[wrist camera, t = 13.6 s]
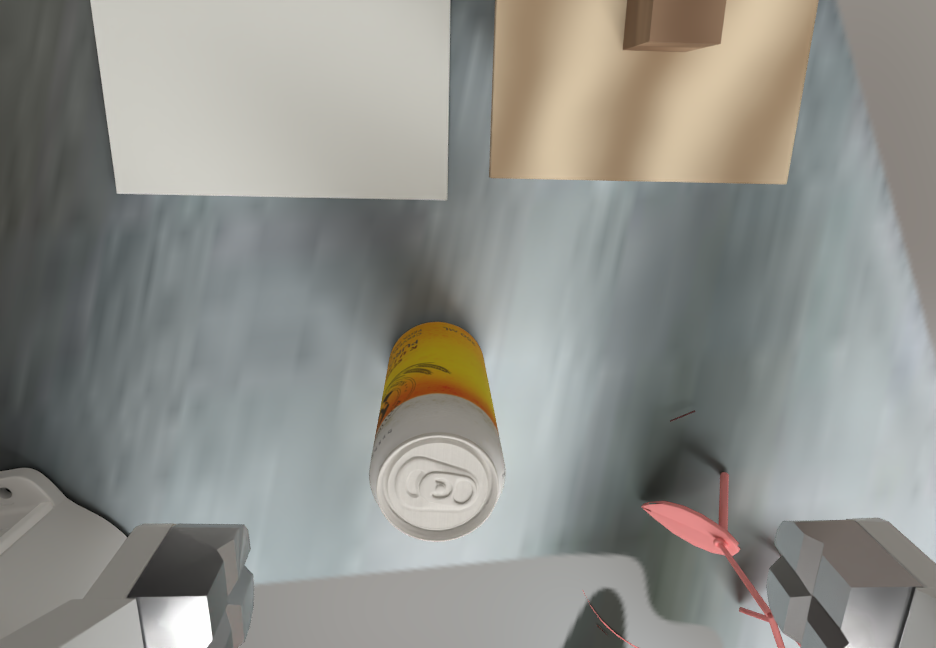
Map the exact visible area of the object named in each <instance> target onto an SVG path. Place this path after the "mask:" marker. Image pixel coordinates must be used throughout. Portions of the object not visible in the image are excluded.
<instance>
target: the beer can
mask: <svg viewBox="0 0 936 648" xmlns="http://www.w3.org/2000/svg"><path fill="white" fill-rule="evenodd" d="M369 480H370V486H371V490H372V493H373V496H374V498H375V500H376V502H377V503H378V505H379V506H380V508H381V511H382V512H383V514H384V516H385V517H386V518H387V520H388V521H389V522H390V523H391V524H392V525H393V526H394V527H395V528H397V529H398V530H399V531H401V532H402V533H404V534H406V535H408V536H410V537H413V538H416V539H420V540H424V541H433V542H440V541H449V540H453V539H457V538H460V537H463V536H465V535H467V534H469V533H471V532H473V531H474V530H476V529H477V528H478V527H480V526H481V525H482V524H483V523H484V522H485V521H486V520H487V518H488V517H489V516H490V514H491V513H492V511H493V509H494V507H495V505H496V503H497V501H498V500H499V497H500V495H501V493H502V490H503V487H504V483H505V464H504V458H503V453H502V448H501V443H500V438H499V433H498V428H497V423H496V418H495V413H494V408H493V403H492V398H491V393H490V388H489V383H488V378H487V373H486V368H485V363H484V358H483V354H482V351H481V349H480V347H479V345H478V343H477V342H476V340H475V339H474V338H473V337H472V336H471V335H470V334H469V333H468V332H466V331H465V330H463V329H462V328H460V327H458V326H456V325H453V324H450V323H445V322H429V323H424V324H420V325H418V326H415V327H413V328H411V329H410V330H408V331H407V332H406V333H404V334H403V335H402V336H401V337H400V338H399V339H398V341H397V342H396V344H395V345H394V347H393V349H392V352H391V354H390V358H389V364H388V369H387V375H386V380H385V386H384V391H383V397H382V402H381V408H380V413H379V419H378V424H377V430H376V435H375V441H374V446H373V452H372V457H371V463H370V470H369Z"/></svg>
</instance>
